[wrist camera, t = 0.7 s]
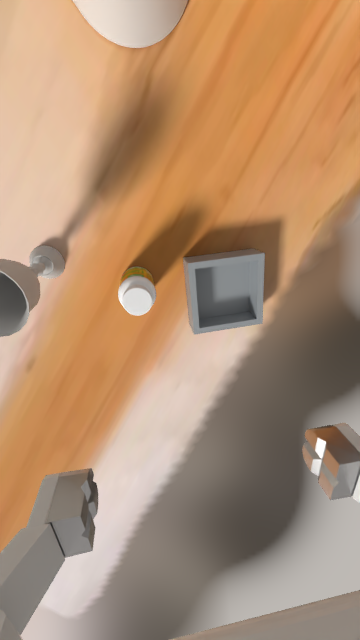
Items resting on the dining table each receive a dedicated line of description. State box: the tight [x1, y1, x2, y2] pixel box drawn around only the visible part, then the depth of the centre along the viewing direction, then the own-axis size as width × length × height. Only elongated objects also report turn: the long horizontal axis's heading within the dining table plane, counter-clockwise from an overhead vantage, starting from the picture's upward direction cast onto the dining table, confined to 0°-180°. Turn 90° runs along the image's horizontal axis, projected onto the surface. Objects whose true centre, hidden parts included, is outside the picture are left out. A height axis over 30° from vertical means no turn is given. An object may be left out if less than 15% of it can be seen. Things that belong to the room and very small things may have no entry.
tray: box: [183, 248, 265, 334], centre depth 44 cm, size 12×12×4 cm
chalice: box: [0, 246, 65, 337], centre depth 32 cm, size 7×7×18 cm
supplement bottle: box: [118, 267, 156, 315], centre depth 40 cm, size 5×5×10 cm
